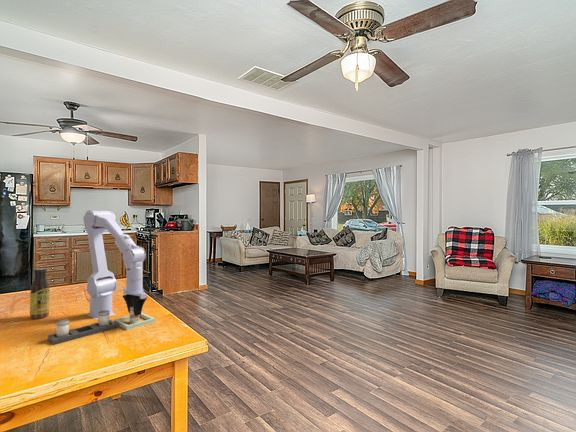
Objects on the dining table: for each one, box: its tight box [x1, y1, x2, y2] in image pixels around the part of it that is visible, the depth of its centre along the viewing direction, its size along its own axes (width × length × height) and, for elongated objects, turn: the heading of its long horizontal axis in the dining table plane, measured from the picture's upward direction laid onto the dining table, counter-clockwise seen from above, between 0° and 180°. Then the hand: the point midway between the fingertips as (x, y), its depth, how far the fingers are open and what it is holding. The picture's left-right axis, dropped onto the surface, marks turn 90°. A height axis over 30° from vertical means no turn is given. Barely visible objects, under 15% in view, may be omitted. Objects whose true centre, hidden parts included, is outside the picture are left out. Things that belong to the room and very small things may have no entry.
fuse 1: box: [55, 319, 70, 338], centre depth 109 cm, size 4×4×6 cm
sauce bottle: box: [29, 267, 50, 320], centre depth 132 cm, size 7×6×20 cm
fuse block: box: [47, 319, 119, 346], centre depth 114 cm, size 7×20×2 cm, turn 141°
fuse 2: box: [97, 310, 110, 327], centre depth 119 cm, size 4×4×6 cm
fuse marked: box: [128, 307, 141, 325], centre depth 125 cm, size 4×4×6 cm
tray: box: [113, 312, 156, 331], centre depth 125 cm, size 11×11×2 cm
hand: (134, 313), depth 125 cm, fingers open, 4 cm apart
